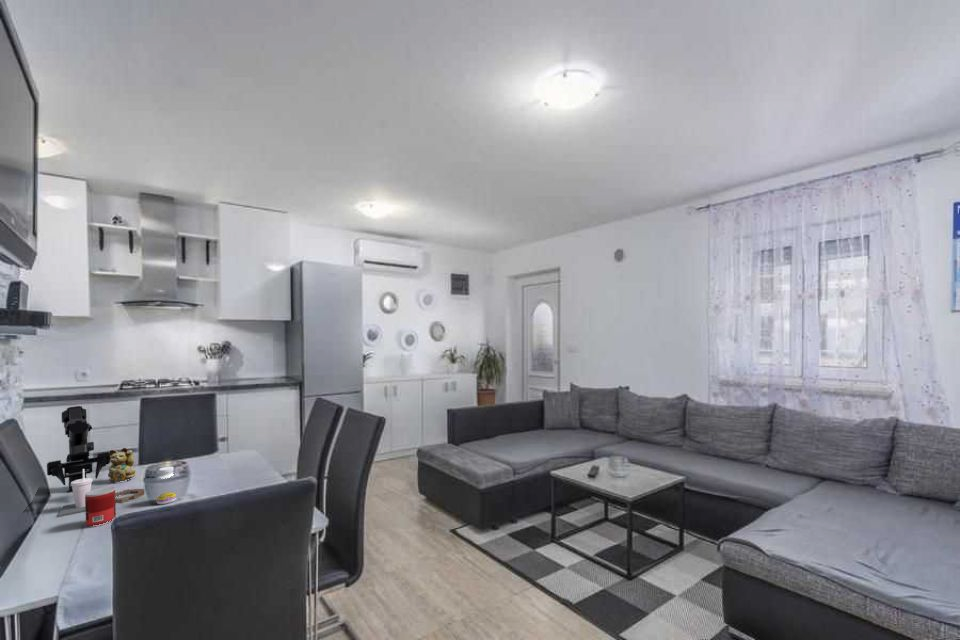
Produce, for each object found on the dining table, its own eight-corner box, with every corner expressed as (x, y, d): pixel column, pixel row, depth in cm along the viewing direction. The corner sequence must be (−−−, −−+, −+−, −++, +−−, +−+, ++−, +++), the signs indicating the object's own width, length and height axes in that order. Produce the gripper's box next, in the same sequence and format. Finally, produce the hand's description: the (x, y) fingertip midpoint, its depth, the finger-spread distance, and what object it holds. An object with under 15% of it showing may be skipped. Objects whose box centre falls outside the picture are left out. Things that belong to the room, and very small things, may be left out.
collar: (107, 495, 179) (107, 493, 179) (144, 488, 187) (144, 485, 187) (105, 506, 168) (105, 503, 168) (144, 498, 175) (144, 495, 175)
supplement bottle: (166, 505, 166) (165, 471, 166) (151, 504, 167) (150, 470, 168) (181, 498, 173) (180, 465, 173) (167, 497, 174) (166, 465, 174)
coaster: (63, 507, 169) (63, 505, 169) (103, 498, 176) (103, 497, 176) (58, 517, 159) (58, 515, 159) (101, 507, 167) (101, 506, 167)
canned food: (121, 518, 155) (120, 487, 156) (95, 528, 148) (94, 495, 148) (106, 516, 158) (106, 485, 158) (80, 526, 150) (79, 494, 151)
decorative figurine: (106, 485, 193) (105, 451, 193) (110, 480, 200) (109, 447, 200) (134, 480, 198) (133, 447, 198) (137, 475, 205) (136, 443, 205)
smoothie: (93, 505, 168) (92, 468, 168) (70, 510, 163) (69, 473, 164) (93, 501, 172) (92, 465, 173) (71, 506, 168) (70, 469, 168)
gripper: (46, 441, 169) (46, 476, 161) (109, 432, 182) (112, 464, 174) (46, 457, 174) (47, 492, 167) (108, 447, 188) (111, 479, 180)
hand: (80, 481), depth 172 cm, fingers open, 9 cm apart
